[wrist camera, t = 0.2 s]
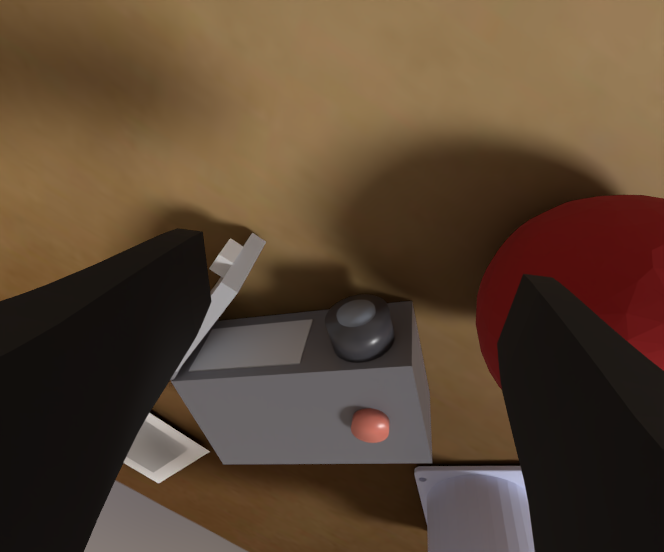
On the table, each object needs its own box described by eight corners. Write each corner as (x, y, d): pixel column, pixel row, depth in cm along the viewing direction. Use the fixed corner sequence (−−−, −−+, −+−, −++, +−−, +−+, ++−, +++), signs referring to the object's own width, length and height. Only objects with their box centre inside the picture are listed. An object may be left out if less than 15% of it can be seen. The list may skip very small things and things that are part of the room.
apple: (587, 112, 16) (760, 248, 8) (742, 241, 18) (1010, 458, 10) (426, 272, 21) (434, 455, 13) (560, 361, 23) (640, 569, 15)
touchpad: (34, 320, 29) (9, 343, 27) (215, 439, 33) (204, 465, 31) (-2, 371, 33) (-26, 394, 31) (164, 471, 37) (152, 495, 35)
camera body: (429, 393, 26) (432, 474, 22) (247, 401, 29) (219, 473, 25) (406, 272, 21) (405, 345, 17) (194, 298, 25) (149, 365, 20)
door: (206, 323, 26) (170, 382, 22) (182, 309, 25) (142, 366, 21) (271, 237, 22) (240, 292, 18) (243, 218, 21) (207, 271, 17)
